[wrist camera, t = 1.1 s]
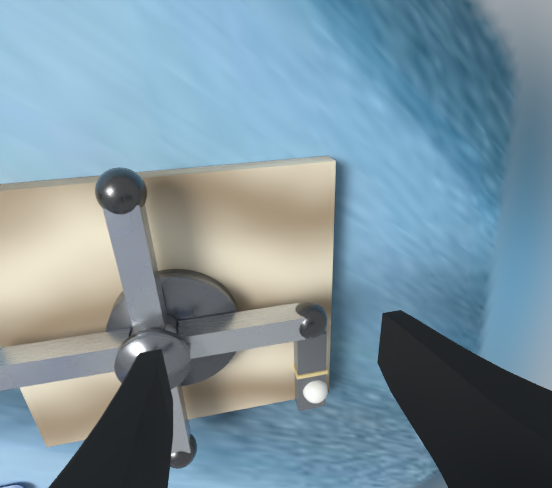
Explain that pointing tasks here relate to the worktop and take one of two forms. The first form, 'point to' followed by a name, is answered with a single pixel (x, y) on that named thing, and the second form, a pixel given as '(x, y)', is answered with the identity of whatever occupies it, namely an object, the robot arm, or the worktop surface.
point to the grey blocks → (310, 372)
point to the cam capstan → (158, 318)
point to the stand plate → (169, 255)
